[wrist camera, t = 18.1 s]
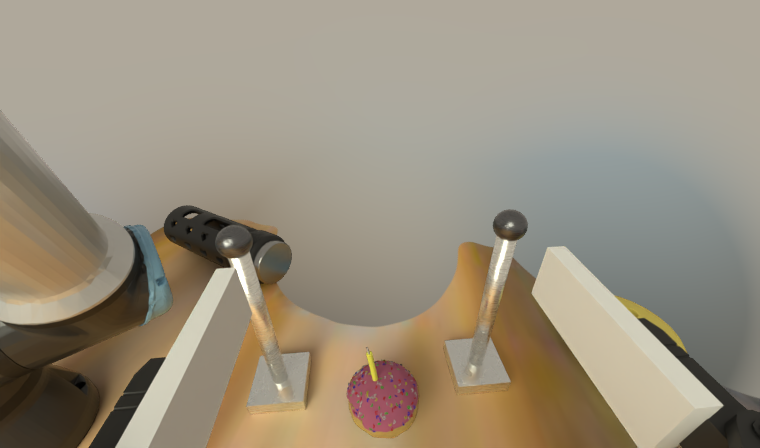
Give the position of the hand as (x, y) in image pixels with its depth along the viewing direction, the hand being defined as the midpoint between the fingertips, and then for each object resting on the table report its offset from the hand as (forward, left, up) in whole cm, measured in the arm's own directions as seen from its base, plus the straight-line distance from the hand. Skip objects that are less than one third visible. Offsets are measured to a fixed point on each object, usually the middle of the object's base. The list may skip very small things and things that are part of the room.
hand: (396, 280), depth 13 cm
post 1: (-13, +15, -32) cm, 38 cm away
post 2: (+14, +15, -32) cm, 38 cm away
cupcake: (0, +10, -32) cm, 34 cm away
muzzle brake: (-29, +43, -32) cm, 61 cm away
